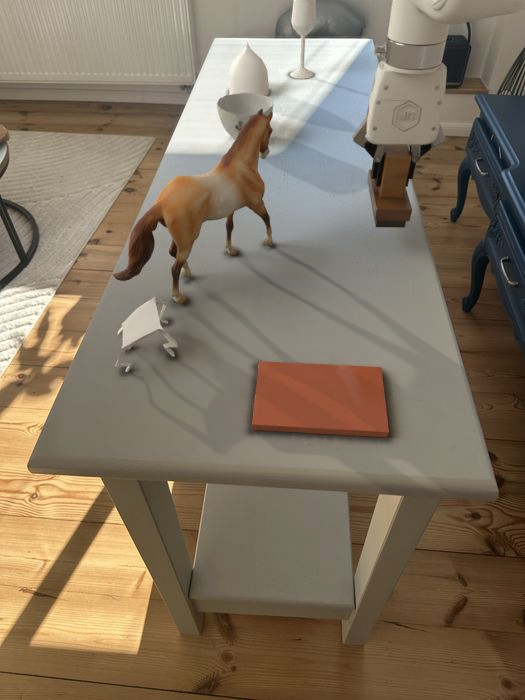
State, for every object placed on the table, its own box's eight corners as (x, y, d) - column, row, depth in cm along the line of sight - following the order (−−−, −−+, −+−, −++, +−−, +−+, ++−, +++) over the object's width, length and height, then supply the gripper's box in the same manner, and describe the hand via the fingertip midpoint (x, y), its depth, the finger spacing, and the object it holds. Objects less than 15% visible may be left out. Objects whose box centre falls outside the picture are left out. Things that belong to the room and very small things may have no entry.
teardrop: (273, 97, 128) (273, 46, 120) (233, 102, 127) (230, 50, 118) (264, 83, 136) (263, 33, 127) (225, 87, 134) (222, 37, 125)
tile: (380, 372, 63) (381, 366, 63) (387, 437, 57) (389, 432, 56) (259, 366, 65) (259, 360, 64) (252, 430, 58) (252, 424, 57)
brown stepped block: (366, 188, 85) (374, 131, 78) (397, 188, 85) (408, 131, 78) (373, 229, 76) (383, 168, 69) (407, 229, 76) (421, 168, 69)
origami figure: (177, 375, 64) (172, 350, 60) (114, 376, 64) (105, 351, 60) (187, 313, 72) (182, 288, 68) (131, 314, 72) (124, 288, 68)
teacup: (273, 150, 108) (273, 113, 102) (217, 150, 108) (214, 113, 102) (273, 122, 118) (273, 87, 112) (222, 122, 118) (219, 87, 112)
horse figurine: (265, 222, 88) (264, 104, 73) (296, 240, 84) (302, 118, 69) (120, 304, 73) (80, 177, 58) (150, 329, 70) (115, 201, 55)
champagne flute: (302, 68, 143) (306, -33, 125) (317, 74, 140) (324, -30, 122) (285, 74, 140) (287, -30, 123) (300, 80, 137) (305, -26, 119)
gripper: (352, 62, 62) (339, 194, 75) (484, 61, 61) (447, 194, 74) (349, 45, 67) (337, 171, 81) (470, 44, 66) (438, 172, 80)
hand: (390, 181), depth 77 cm, fingers closed on brown stepped block, 3 cm apart
